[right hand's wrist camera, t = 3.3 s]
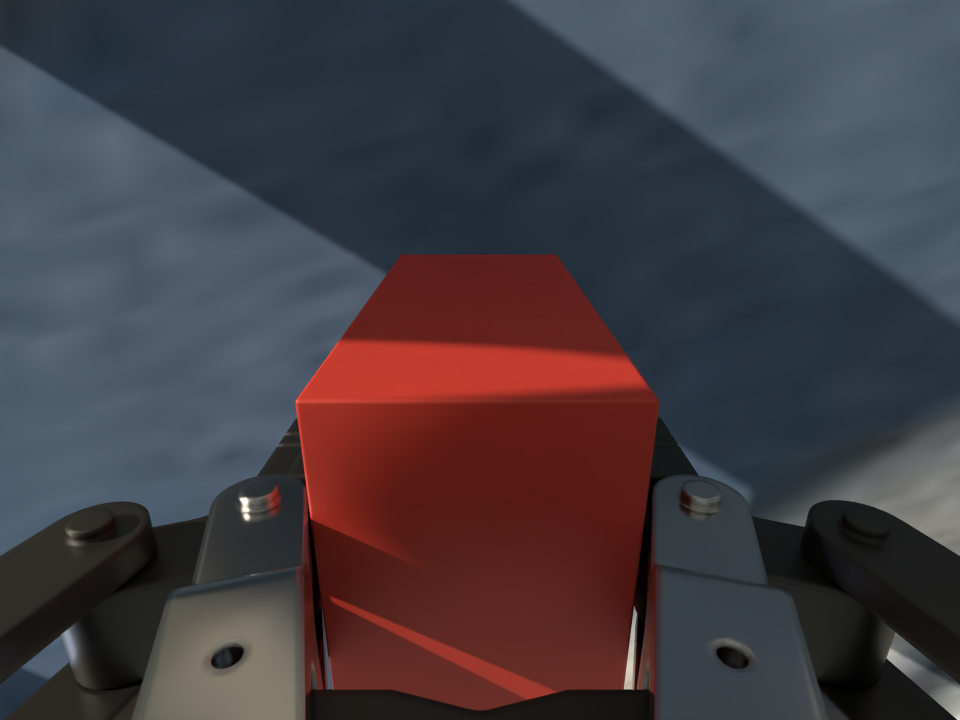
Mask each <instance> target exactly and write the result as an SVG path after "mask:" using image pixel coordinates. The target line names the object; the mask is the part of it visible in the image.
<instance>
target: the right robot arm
mask: <svg viewBox="0 0 960 720" xmlns="http://www.w3.org/2000/svg"><path fill="white" fill-rule="evenodd" d="M634 606H635V609H636V612H637V619H636V627H635V644H634V664H633V684H632V690H564V691H560V692H556V693H552V694H548V695H544V696H540V697H536V698H532V699H528V700H524V701H521V702H517V703H513V704H509V705H505V706H501V707H497V708H493V709H488V710H472V709H467V708H463V707H459V706H455V705H451V704H447V703H443V702H439V701H436V700H432V699H428V698H424V697H420V696H416V695H412V694H408V693H404V692H400V691H396V690H328V684H327V664H326V644H325V627H324V619H323V611H322V603H321V595H320V588H319V580H318V572H317V564H316V557H315V549H314V541H313V533H312V526H311V518H310V510H309V502H308V495H307V487H306V479H305V471H304V464H303V456H302V448H301V440H300V433H299V425H298V418H297V419H296V420H295V421H294V422H293V424H292V425H291V427H290V428H289V430H288V431H287V433H286V436H284V437H283V439H282V440H281V442H280V443H279V447H277V448H276V449H275V451H274V452H273V454H272V455H271V457H270V458H269V460H268V461H267V463H266V464H265V466H264V467H263V468H262V470H261V471H260V473H259V474H258V476H257V477H253V478H249V479H246V480H243V481H241V482H238V483H236V484H234V485H232V486H230V487H228V488H227V489H225V490H224V491H223V492H221V493H220V494H219V495H218V496H217V497H216V498H215V500H214V501H213V502H212V505H211V507H210V511H209V515H207V516H204V517H201V518H197V519H193V520H188V521H183V522H178V523H173V524H168V525H162V526H157V527H152V523H151V519H150V515H149V512H148V510H147V509H146V508H145V507H144V506H142V505H140V504H137V503H133V502H110V503H104V504H99V505H95V506H91V507H88V508H85V509H82V510H79V511H77V512H74V513H72V514H70V515H68V516H66V517H64V518H62V519H60V520H58V521H57V522H55V523H53V524H52V525H50V526H48V527H47V528H45V529H43V530H42V531H40V532H39V533H37V534H35V535H34V536H32V537H31V538H29V539H27V540H26V541H24V542H22V543H21V544H19V545H18V546H16V547H14V548H13V549H11V550H9V551H8V552H6V553H5V554H3V555H1V556H0V684H1V683H2V682H3V681H4V680H6V679H7V678H8V677H9V676H11V675H12V674H13V673H14V672H16V671H17V670H18V669H19V668H21V667H22V666H23V665H24V664H26V663H27V662H28V661H29V660H30V659H32V658H33V657H34V656H35V655H37V654H38V653H39V652H40V651H42V650H43V649H44V648H45V647H47V646H48V645H49V644H50V643H51V642H53V641H54V640H55V639H56V638H58V637H59V636H60V637H61V640H62V643H63V646H64V649H65V652H66V654H67V657H68V660H69V663H68V664H67V665H66V666H64V667H63V668H62V669H61V670H60V671H59V672H58V673H56V674H55V675H54V676H53V677H52V678H51V679H49V680H48V681H47V682H46V683H45V684H44V685H42V686H41V687H40V688H39V689H38V690H37V691H36V692H34V693H33V694H32V695H31V696H30V697H29V698H27V699H26V700H25V701H24V702H23V703H22V704H21V705H19V706H18V707H17V708H16V709H15V710H14V711H12V712H11V713H10V714H9V715H8V716H7V717H6V718H4V719H3V720H957V719H956V718H954V717H953V716H952V715H951V714H950V713H949V712H948V711H946V710H945V709H944V708H943V707H942V706H941V705H939V704H938V703H937V702H936V701H935V700H934V699H933V698H931V697H930V696H929V695H928V694H927V693H926V692H924V691H923V690H922V689H921V688H920V687H919V686H917V685H916V684H915V683H914V682H913V681H912V680H911V679H909V678H908V677H907V676H906V675H905V674H904V673H902V672H901V671H900V670H899V669H898V668H897V667H896V666H894V665H893V664H892V663H891V662H890V661H889V660H887V659H886V658H887V655H888V652H889V649H890V646H891V643H892V640H893V637H894V634H895V632H896V633H897V634H899V635H900V636H901V637H902V638H904V639H905V640H906V641H907V642H908V643H910V644H911V645H912V646H913V647H915V648H916V649H917V650H918V651H920V652H921V653H922V654H923V655H925V656H926V657H927V658H928V659H930V660H931V661H932V662H933V663H934V664H936V665H937V666H938V667H939V668H941V669H942V670H943V671H944V672H946V673H947V674H948V675H949V676H951V677H952V678H953V679H954V680H955V681H956V682H958V683H959V684H960V556H959V555H957V554H955V553H954V552H952V551H951V550H949V549H947V548H946V547H944V546H942V545H941V544H939V543H938V542H936V541H934V540H933V539H931V538H929V537H928V536H926V535H925V534H923V533H921V532H920V531H918V530H916V529H915V528H913V527H912V526H910V525H908V524H907V523H905V522H904V521H902V520H900V519H898V518H897V517H895V516H893V515H891V514H889V513H887V512H885V511H882V510H879V509H877V508H874V507H871V506H868V505H865V504H860V503H856V502H850V501H841V500H829V501H823V502H820V503H817V504H815V505H813V506H812V507H811V508H810V510H809V513H808V517H807V521H806V525H805V527H802V526H797V525H792V524H786V523H781V522H776V521H771V520H766V519H761V518H757V517H754V516H752V515H751V511H750V507H749V505H748V502H747V501H746V500H745V498H744V497H743V496H742V495H741V494H740V493H739V492H737V491H736V490H735V489H733V488H732V487H730V486H728V485H726V484H724V483H722V482H719V481H717V480H714V479H711V478H707V477H703V476H699V475H698V474H697V472H696V471H695V469H694V468H693V466H692V465H691V463H690V462H689V460H688V459H687V457H686V456H685V454H684V453H683V451H682V450H681V448H680V447H679V446H677V442H676V441H675V439H674V438H673V436H672V435H670V432H669V430H668V429H667V427H666V425H665V424H664V422H663V421H662V419H660V418H659V417H658V418H657V426H656V434H655V442H654V450H653V458H652V466H651V474H650V482H649V490H648V498H647V506H646V514H645V522H644V530H643V538H642V546H641V554H640V562H639V569H638V577H637V585H636V593H635V601H634Z"/></svg>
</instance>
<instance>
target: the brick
mask: <svg viewBox="0 0 960 720" xmlns="http://www.w3.org/2000/svg"><path fill="white" fill-rule="evenodd" d="M296 409H297V417H298V425H299V433H300V440H301V448H302V456H303V464H304V471H305V479H306V487H307V495H308V502H309V510H310V518H311V526H312V533H313V541H314V549H315V557H316V564H317V572H318V580H319V588H320V595H321V603H322V611H323V619H324V626H325V634H326V642H327V649H328V657H329V665H330V673H331V680H332V688H333V690H396V691H400V692H404V693H408V694H412V695H416V696H420V697H424V698H428V699H432V700H436V701H439V702H443V703H447V704H451V705H455V706H459V707H463V708H467V709H472V710H488V709H493V708H497V707H501V706H505V705H509V704H513V703H517V702H521V701H524V700H528V699H532V698H536V697H540V696H544V695H548V694H552V693H556V692H560V691H564V690H623V689H624V681H625V673H626V665H627V657H628V649H629V641H630V633H631V625H632V617H633V609H634V601H635V593H636V585H637V577H638V569H639V562H640V554H641V546H642V538H643V530H644V522H645V514H646V506H647V498H648V490H649V482H650V474H651V466H652V458H653V450H654V442H655V434H656V426H657V418H658V410H659V400H658V398H657V397H656V395H655V394H654V393H653V391H652V390H651V388H650V387H649V385H648V384H647V383H646V381H645V380H644V378H643V377H642V376H641V374H640V373H639V371H638V370H637V368H636V367H635V366H634V364H633V363H632V361H631V360H630V358H629V357H628V356H627V354H626V353H625V351H624V350H623V349H622V347H621V346H620V344H619V343H618V341H617V340H616V339H615V337H614V336H613V334H612V333H611V331H610V330H609V329H608V327H607V326H606V324H605V323H604V322H603V320H602V319H601V317H600V316H599V314H598V313H597V312H596V310H595V309H594V307H593V306H592V304H591V303H590V302H589V300H588V299H587V297H586V296H585V295H584V293H583V292H582V290H581V289H580V287H579V286H578V285H577V283H576V282H575V280H574V279H573V278H572V276H571V275H570V273H569V272H568V270H567V269H566V268H565V266H564V265H563V263H562V262H561V260H560V259H559V258H558V256H557V255H401V256H400V257H399V259H398V260H397V261H396V263H395V264H394V266H393V267H392V268H391V270H390V271H389V272H388V274H387V275H386V277H385V278H384V279H383V281H382V282H381V284H380V285H379V286H378V288H377V289H376V290H375V292H374V293H373V295H372V296H371V297H370V299H369V300H368V302H367V303H366V304H365V306H364V307H363V308H362V310H361V311H360V313H359V314H358V315H357V317H356V318H355V320H354V321H353V322H352V324H351V325H350V326H349V328H348V329H347V331H346V332H345V333H344V335H343V336H342V337H341V339H340V340H339V342H338V343H337V344H336V346H335V347H334V349H333V350H332V351H331V353H330V354H329V355H328V357H327V358H326V360H325V361H324V362H323V364H322V365H321V367H320V368H319V369H318V371H317V372H316V373H315V375H314V376H313V378H312V379H311V380H310V382H309V383H308V385H307V386H306V387H305V389H304V390H303V391H302V393H301V394H300V396H299V397H298V398H297V400H296Z"/></svg>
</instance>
